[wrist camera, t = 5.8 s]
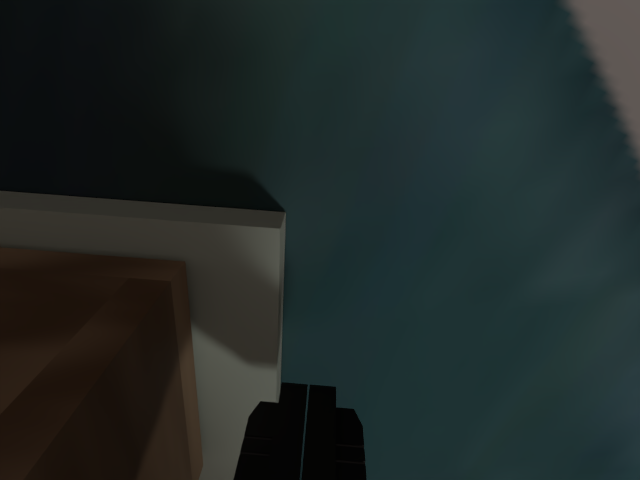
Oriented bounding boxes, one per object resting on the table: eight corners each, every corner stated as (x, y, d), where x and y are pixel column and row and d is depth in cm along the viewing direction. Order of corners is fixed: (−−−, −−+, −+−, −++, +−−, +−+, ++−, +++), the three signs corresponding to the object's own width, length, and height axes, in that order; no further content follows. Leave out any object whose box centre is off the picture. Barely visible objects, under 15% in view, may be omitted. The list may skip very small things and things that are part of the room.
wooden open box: (185, 261, 10) (15, 489, 5) (203, 465, 14) (114, 735, 8) (-81, 241, 10) (-542, 444, 5) (2, 449, 14) (-217, 706, 8)
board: (285, 212, 11) (280, 228, 10) (272, 618, 21) (269, 649, 20) (-149, 179, 11) (-201, 192, 10) (38, 599, 21) (22, 628, 20)
